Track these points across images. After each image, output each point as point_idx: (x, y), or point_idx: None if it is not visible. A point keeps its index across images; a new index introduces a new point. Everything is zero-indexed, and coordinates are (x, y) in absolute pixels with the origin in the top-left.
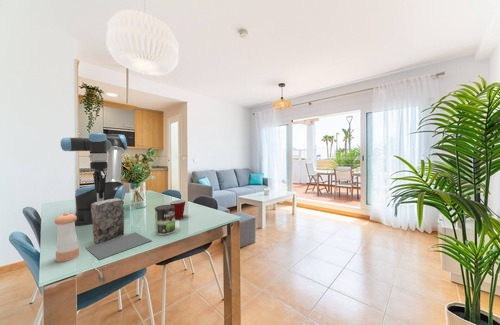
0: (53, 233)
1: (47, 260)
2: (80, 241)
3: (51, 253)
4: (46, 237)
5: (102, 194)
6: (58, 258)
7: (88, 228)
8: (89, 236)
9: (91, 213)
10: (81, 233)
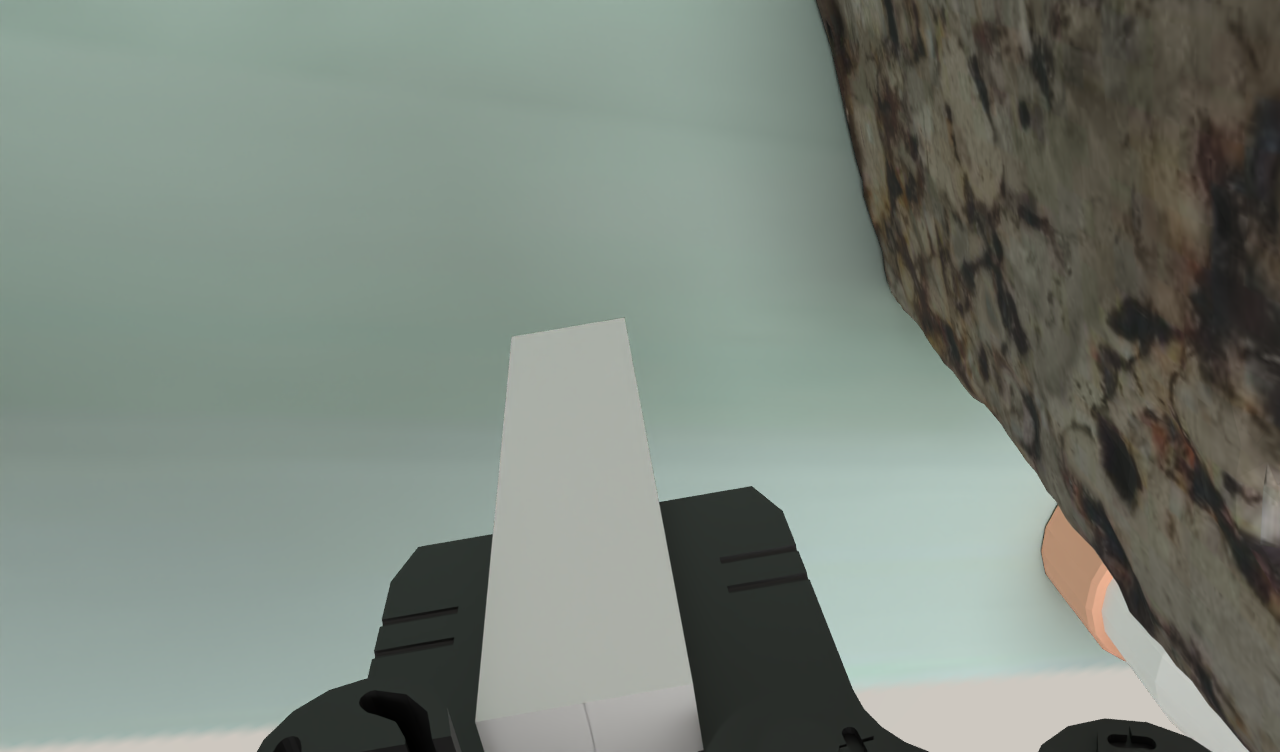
0: (30, 682)
1: (1031, 658)
2: (707, 424)
3: (863, 646)
4: (184, 727)
5: (822, 647)
6: None
7: (58, 301)
8: (570, 320)
9: (1126, 587)
10: (309, 402)
